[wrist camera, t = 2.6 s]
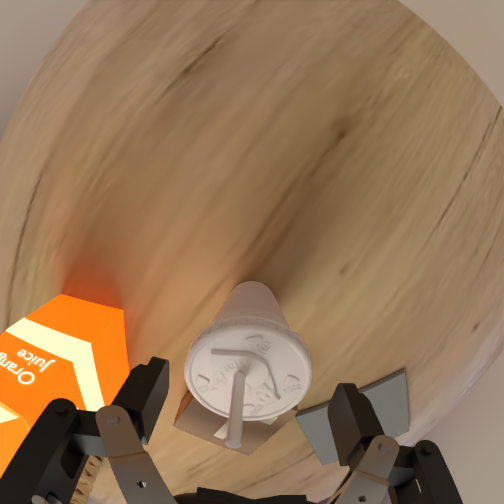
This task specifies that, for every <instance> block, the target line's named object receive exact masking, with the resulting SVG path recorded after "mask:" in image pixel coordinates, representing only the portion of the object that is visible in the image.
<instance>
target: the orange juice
mask: <svg viewBox="0 0 504 504" xmlns="http://www.w3.org/2000/svg"><path fill="white" fill-rule="evenodd" d="M128 375H129V367H128V359H127V350H126V340H125V329H124V315H123V310H120V309H116V308H112V307H108V306H104V305H100V304H96V303H92V302H88V301H84V300H81V299H77V298H73V297H70V296H66V295H63V294H61V295H59V296H57V297H56V298H54V299H53V300H51V301H50V302H48V303H47V304H45V305H43V306H42V307H40V308H39V309H37V310H36V311H34V312H33V313H31V314H30V315H28V316H27V317H25V318H23V319H21V320H20V321H18V322H17V323H15V324H14V325H12V326H11V327H10V328H8V329H7V330H6V331H5V332H4V333H2V334H1V335H0V478H1V476H2V474H3V473H4V471H5V469H6V468H7V466H8V464H9V463H10V461H11V459H12V458H13V456H14V454H15V453H16V451H17V449H18V448H19V446H20V445H21V443H22V442H23V440H24V438H25V437H26V435H27V434H28V432H29V431H30V429H31V428H32V426H33V425H34V423H35V422H36V420H37V419H38V418H39V416H40V415H41V413H42V412H43V410H44V409H45V407H46V406H47V405H48V403H49V402H50V401H52V400H54V399H57V398H65V399H68V400H70V401H72V402H73V403H74V404H75V405H76V408H77V409H80V410H87V411H98V409H100V408H101V407H103V406H106V405H110V404H111V403H112V401H113V399H114V398H115V396H116V395H117V393H118V391H119V390H120V388H121V386H122V385H123V383H124V382H125V380H126V378H128Z"/></svg>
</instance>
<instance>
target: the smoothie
mask: <svg viewBox="0 0 504 504" xmlns="http://www.w3.org/2000/svg"><path fill="white" fill-rule="evenodd" d="M184 375H185V380H186V383H187V386H188V388H189V390H190V391H191V393H192V394H193V396H194V397H195V398H196V399H197V400H198V401H199V402H200V403H201V404H202V405H203V406H205V407H206V408H208V409H209V410H211V411H213V412H214V413H217V414H219V415H221V416H224V417H227V418H229V419H228V428H227V436H226V446H228V447H230V448H239V447H240V446H241V439H242V424H243V420H245V421H254V420H263V419H269V418H272V417H275V416H278V415H280V414H283V413H285V412H286V411H288V410H290V409H291V408H293V407H294V406H295V405H297V404H298V403H299V402H300V401H301V400H302V399H303V397H304V396H305V394H306V393H307V391H308V389H309V387H310V384H311V380H312V366H311V357H310V354H309V352H308V349H307V346H306V344H305V343H304V342H303V340H302V339H301V338H300V337H299V335H298V334H297V333H296V332H294V331H293V330H291V328H290V326H289V324H288V322H287V320H286V318H285V316H284V314H283V312H282V311H281V309H280V307H279V305H278V303H277V301H276V299H275V297H274V295H273V293H272V291H271V290H270V289H269V288H268V287H267V286H266V285H264V284H263V283H260V282H257V281H246V282H243V283H240V284H239V285H237V286H236V287H235V288H234V289H233V290H232V291H231V293H230V295H229V296H228V298H227V299H226V301H225V302H224V304H223V306H222V307H221V309H220V310H219V312H218V313H217V315H216V317H215V318H214V320H213V321H212V323H211V324H210V326H208V327H207V328H205V329H203V330H202V331H201V332H200V333H199V334H198V336H197V337H196V338H195V339H194V340H193V341H192V344H191V346H190V348H189V351H188V353H187V358H186V361H185V366H184Z"/></svg>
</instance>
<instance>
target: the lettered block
mask: <svg viewBox="0 0 504 504" xmlns="http://www.w3.org/2000/svg"><path fill="white" fill-rule="evenodd" d="M297 412H298V408H297V405H295V406H294V407H293V408H291V409H290V410H288V411H286V412H285V413H283V414H280V415H278V416H275V417H272V418H269V419H263V420H254V421H245V420H243V424H242V439H241V446H240V447H239V448H230V447H228V446H226V436H227V428H228V419H229V418H227V417H224V416H221V415H219V414H217V413H214V412H213V411H211V410H209V409H208V408H206V407H205V406H203V405H202V404H201V403H200V402H199V401H198V400H197V399H196V398H195V397H194V396H193V394H192V393H191V391H190V390H188V391H187V392H186V394H185V395H184V397H183V398H182V400H181V403H180V406H179V409H178V412H177V415H176V418H175V421H174V424H173V426H174V427H176V428H179V429H181V430H183V431H185V432H188V433H190V434H192V435H194V436H197V437H199V438H202V439H204V440H207V441H209V442H212V443H214V444H217V445H220V446H222V447H225V448H228V449H231V450H234V451H237V452H240V453H243V454H246V455H250V454H251V453H252V452H253V451H255V450H256V449H257V448H258V447H260V446H261V445H262V444H263V443H264V442H266V441H267V440H268V439H269V438H270V437H271V436H272V435H274V434H275V433H276V432H277V431H278V430H279V429H280V428H281V427H283V426H284V425H285V424H286V423H287V422H288V421H289V420H290V419H291V418H292V417H293V416H294V415H295V414H296V413H297Z"/></svg>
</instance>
